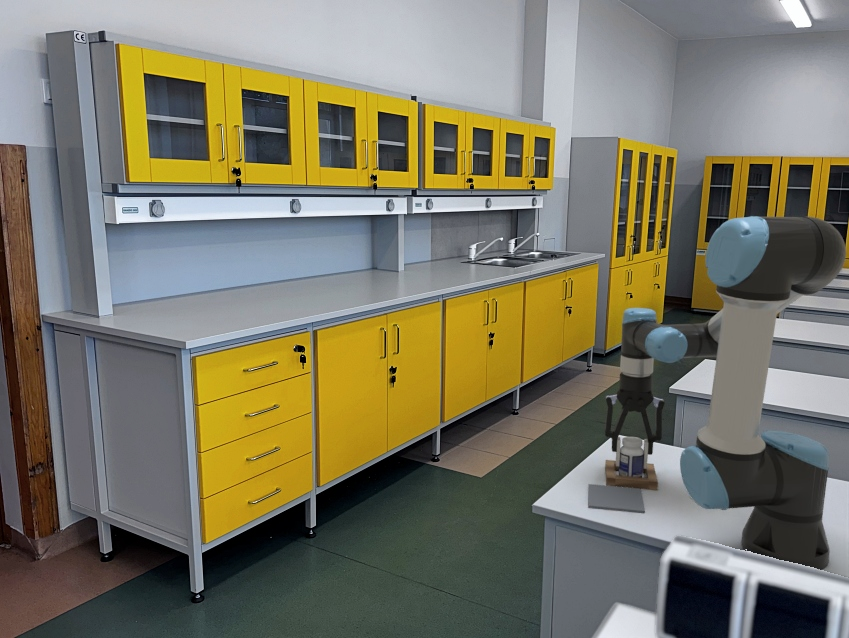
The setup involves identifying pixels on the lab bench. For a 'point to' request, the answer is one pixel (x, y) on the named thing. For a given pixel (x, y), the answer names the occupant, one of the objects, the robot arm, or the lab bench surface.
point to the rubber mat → (615, 498)
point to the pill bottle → (631, 457)
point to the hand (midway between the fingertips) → (631, 465)
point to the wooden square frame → (628, 481)
